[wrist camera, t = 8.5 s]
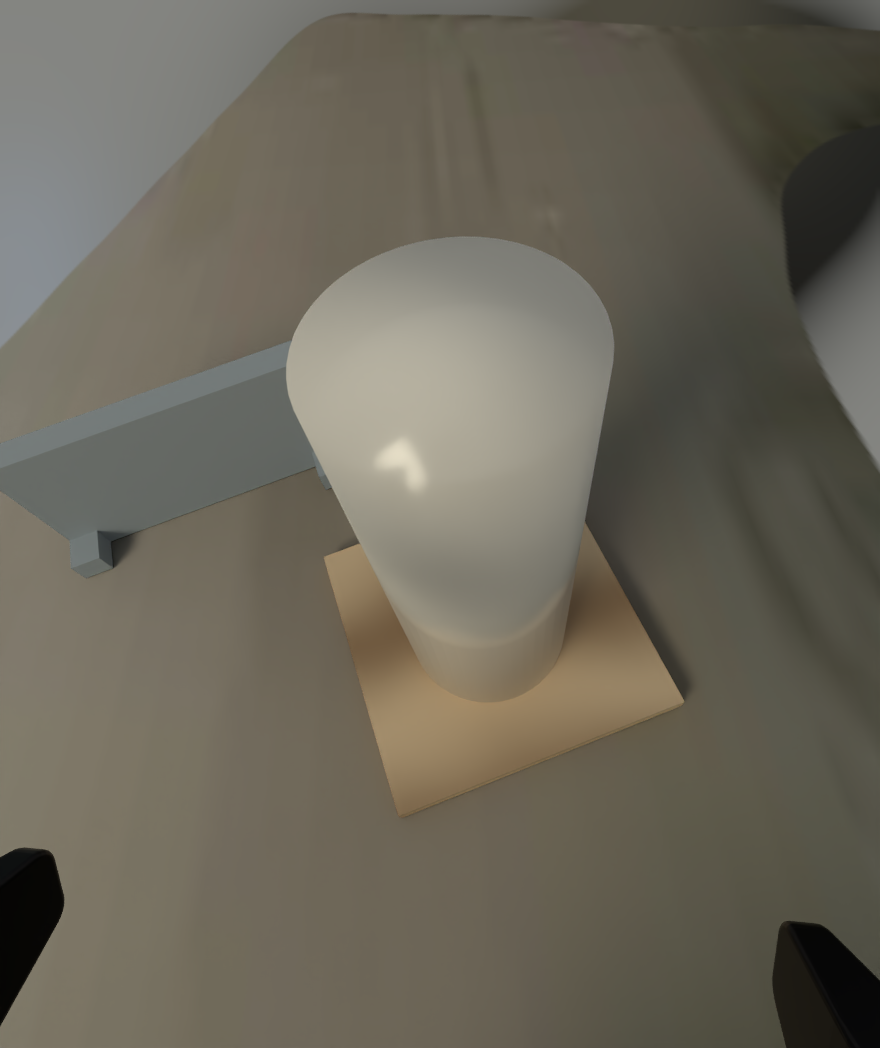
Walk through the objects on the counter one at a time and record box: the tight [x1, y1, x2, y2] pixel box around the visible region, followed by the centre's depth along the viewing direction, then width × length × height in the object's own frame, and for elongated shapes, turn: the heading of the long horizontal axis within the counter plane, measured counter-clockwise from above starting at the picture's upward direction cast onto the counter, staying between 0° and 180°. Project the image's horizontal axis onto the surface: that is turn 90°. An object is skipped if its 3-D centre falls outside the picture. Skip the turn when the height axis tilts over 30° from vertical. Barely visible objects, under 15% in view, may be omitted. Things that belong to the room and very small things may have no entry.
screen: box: [0, 340, 332, 578], centre depth 26 cm, size 4×12×6 cm, turn 110°
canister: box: [286, 237, 614, 702], centre depth 17 cm, size 6×6×14 cm
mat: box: [324, 522, 685, 818], centre depth 23 cm, size 10×10×1 cm
